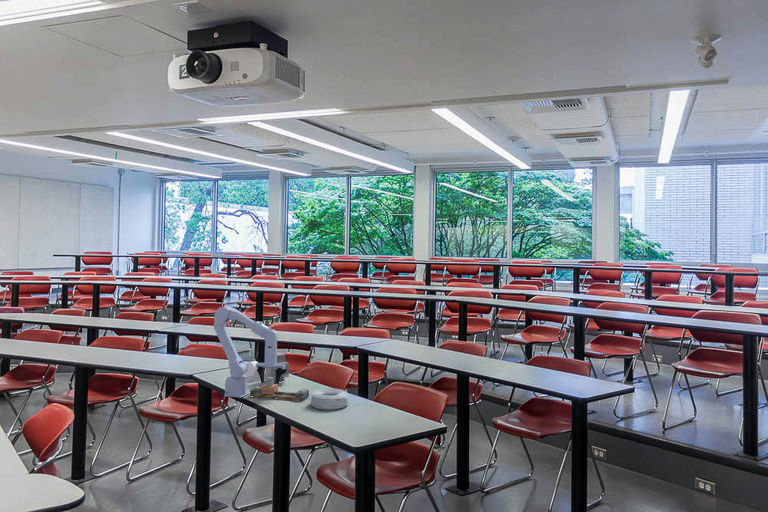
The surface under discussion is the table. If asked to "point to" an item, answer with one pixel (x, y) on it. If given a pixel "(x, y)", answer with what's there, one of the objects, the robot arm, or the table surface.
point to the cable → (329, 399)
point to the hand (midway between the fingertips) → (270, 383)
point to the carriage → (269, 386)
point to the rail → (280, 394)
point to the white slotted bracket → (252, 372)
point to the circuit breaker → (271, 371)
